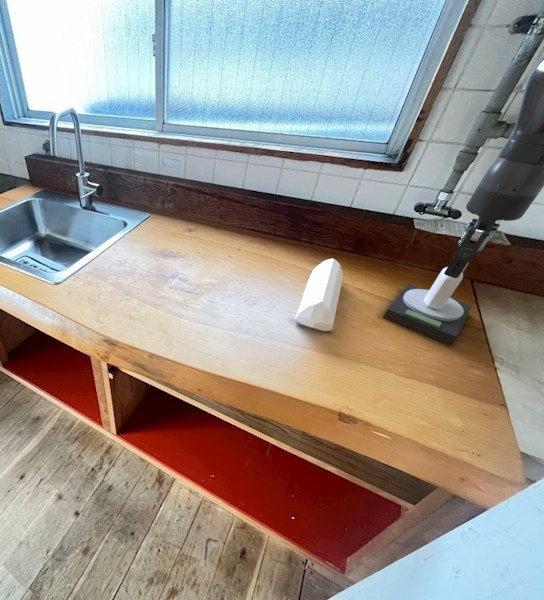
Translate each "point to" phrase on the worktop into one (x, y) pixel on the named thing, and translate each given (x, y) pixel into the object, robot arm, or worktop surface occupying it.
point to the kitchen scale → (428, 315)
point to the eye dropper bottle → (442, 290)
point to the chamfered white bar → (321, 296)
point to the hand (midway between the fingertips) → (455, 267)
